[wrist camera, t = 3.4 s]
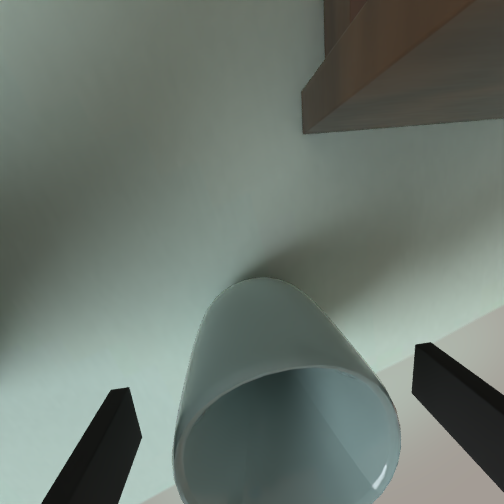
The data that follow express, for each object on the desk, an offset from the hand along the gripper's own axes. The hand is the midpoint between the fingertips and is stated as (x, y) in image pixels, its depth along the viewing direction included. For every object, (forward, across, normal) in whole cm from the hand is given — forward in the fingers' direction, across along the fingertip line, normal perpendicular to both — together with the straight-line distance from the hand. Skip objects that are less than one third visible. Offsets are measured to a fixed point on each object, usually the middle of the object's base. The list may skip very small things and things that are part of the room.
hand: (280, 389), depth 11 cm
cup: (+7, 0, 0) cm, 7 cm away
